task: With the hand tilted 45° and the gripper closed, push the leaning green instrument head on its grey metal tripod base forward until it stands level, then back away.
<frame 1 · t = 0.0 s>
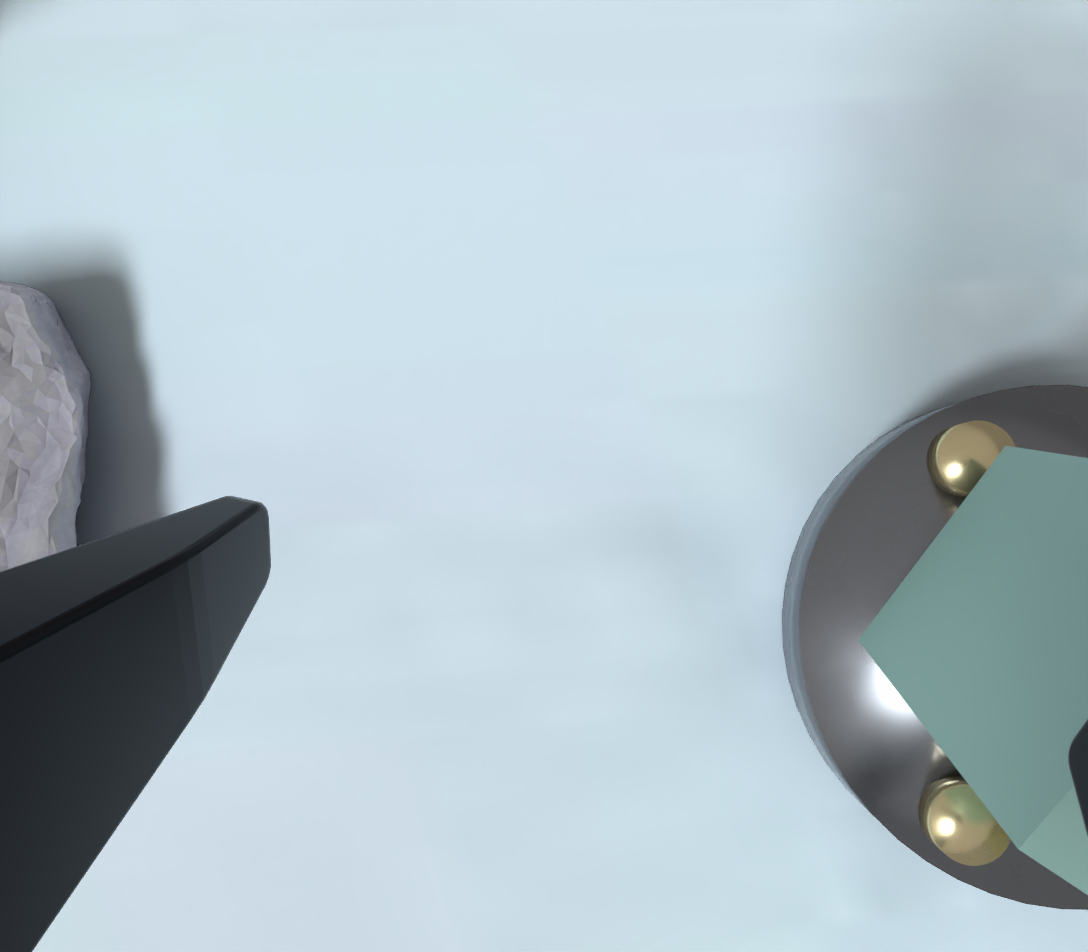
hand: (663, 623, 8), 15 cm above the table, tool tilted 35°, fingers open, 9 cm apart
tripod base: (1021, 630, 22), on the table
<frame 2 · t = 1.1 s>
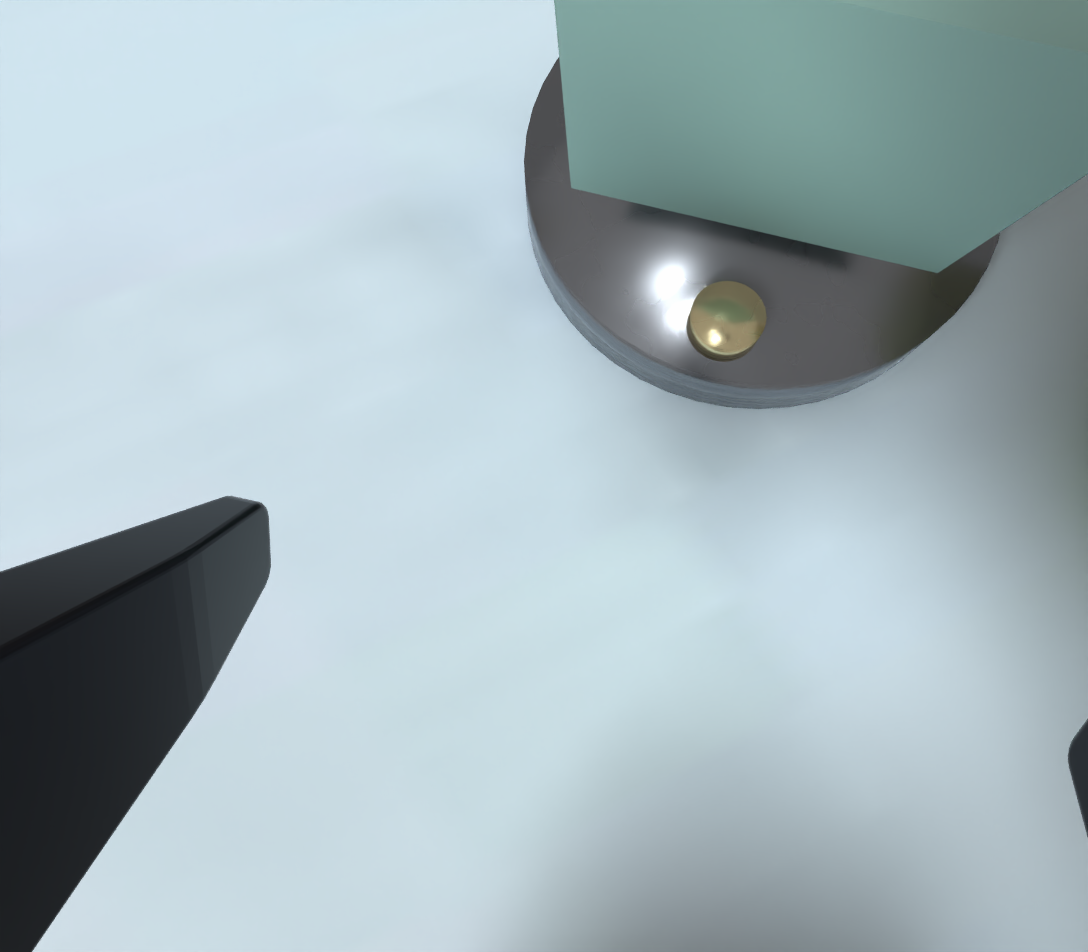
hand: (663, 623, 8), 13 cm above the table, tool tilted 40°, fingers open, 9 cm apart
tripod base: (745, 200, 24), on the table
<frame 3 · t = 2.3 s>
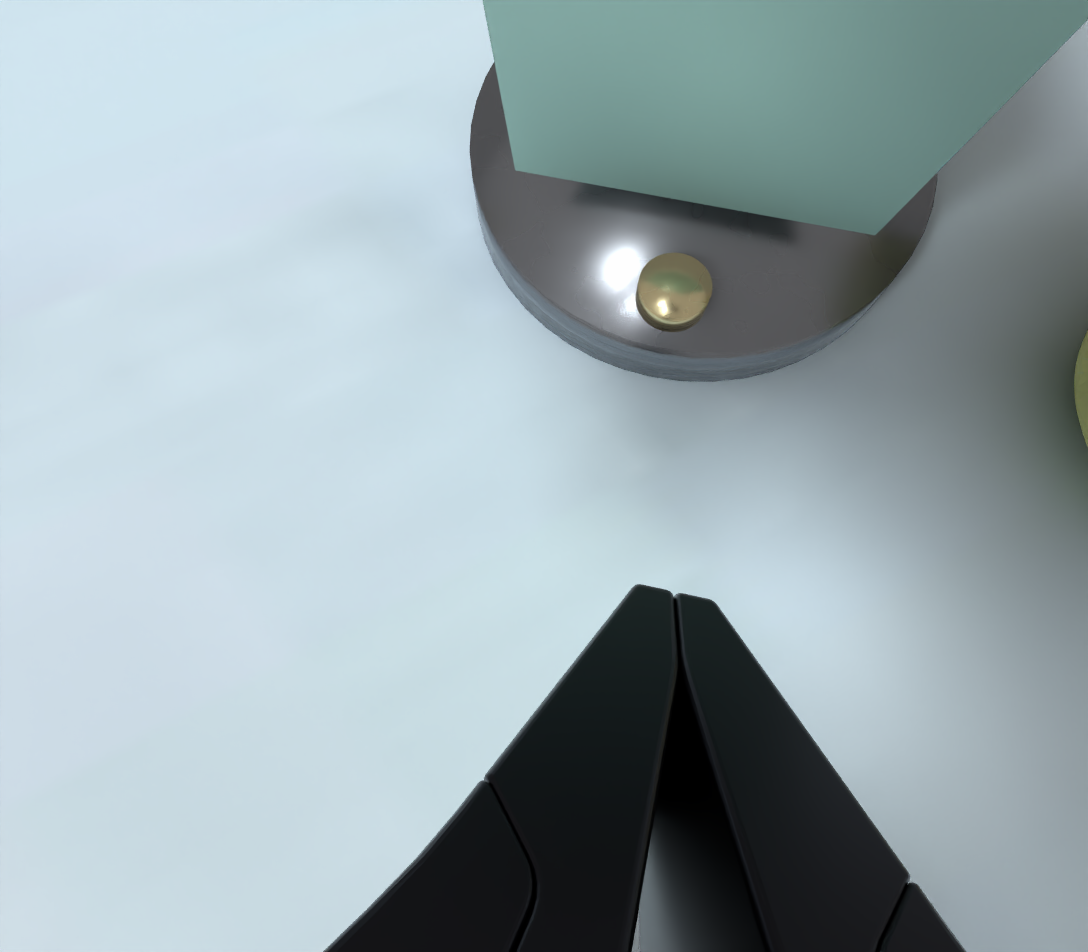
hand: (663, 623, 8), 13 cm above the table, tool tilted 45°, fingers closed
tripod base: (689, 183, 24), on the table
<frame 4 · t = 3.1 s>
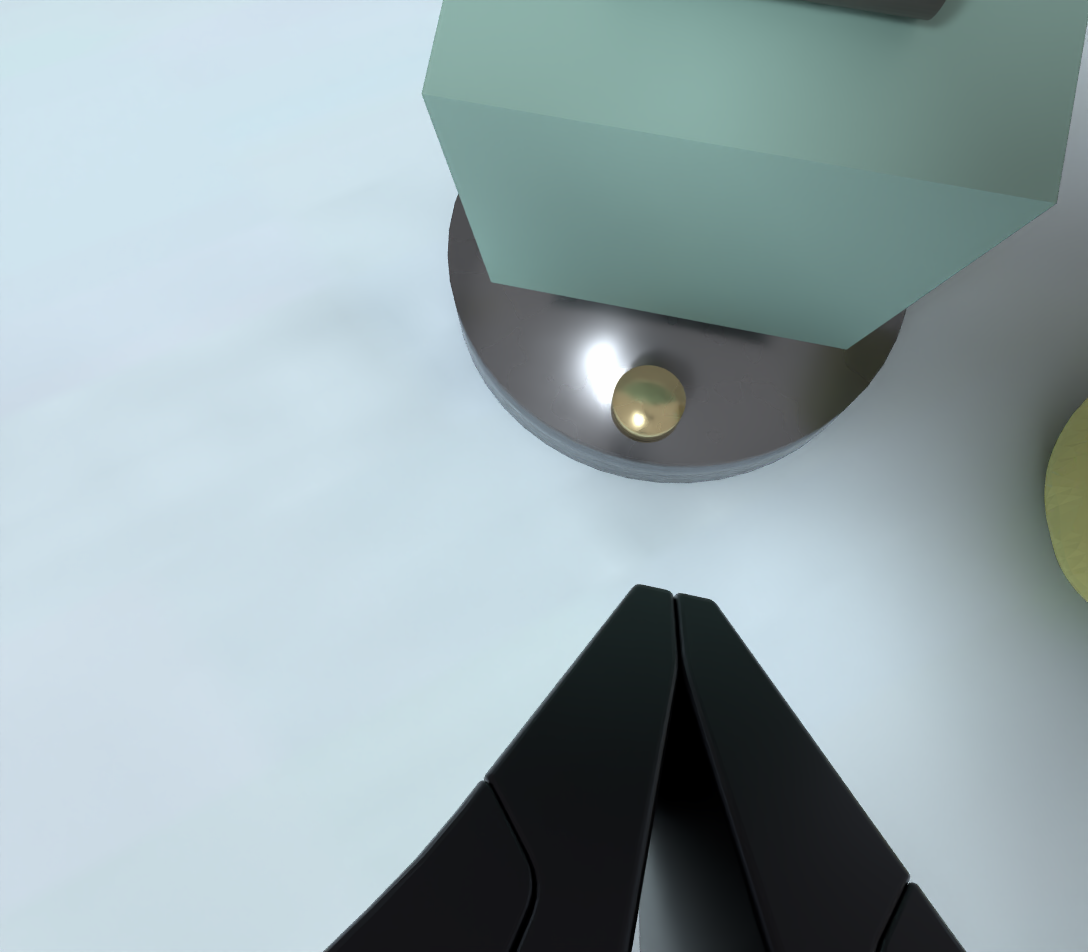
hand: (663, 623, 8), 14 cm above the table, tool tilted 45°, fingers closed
instrument head: (732, 55, 15), point 9 cm above the table, hinge at -12.0°
tripod base: (667, 279, 24), on the table
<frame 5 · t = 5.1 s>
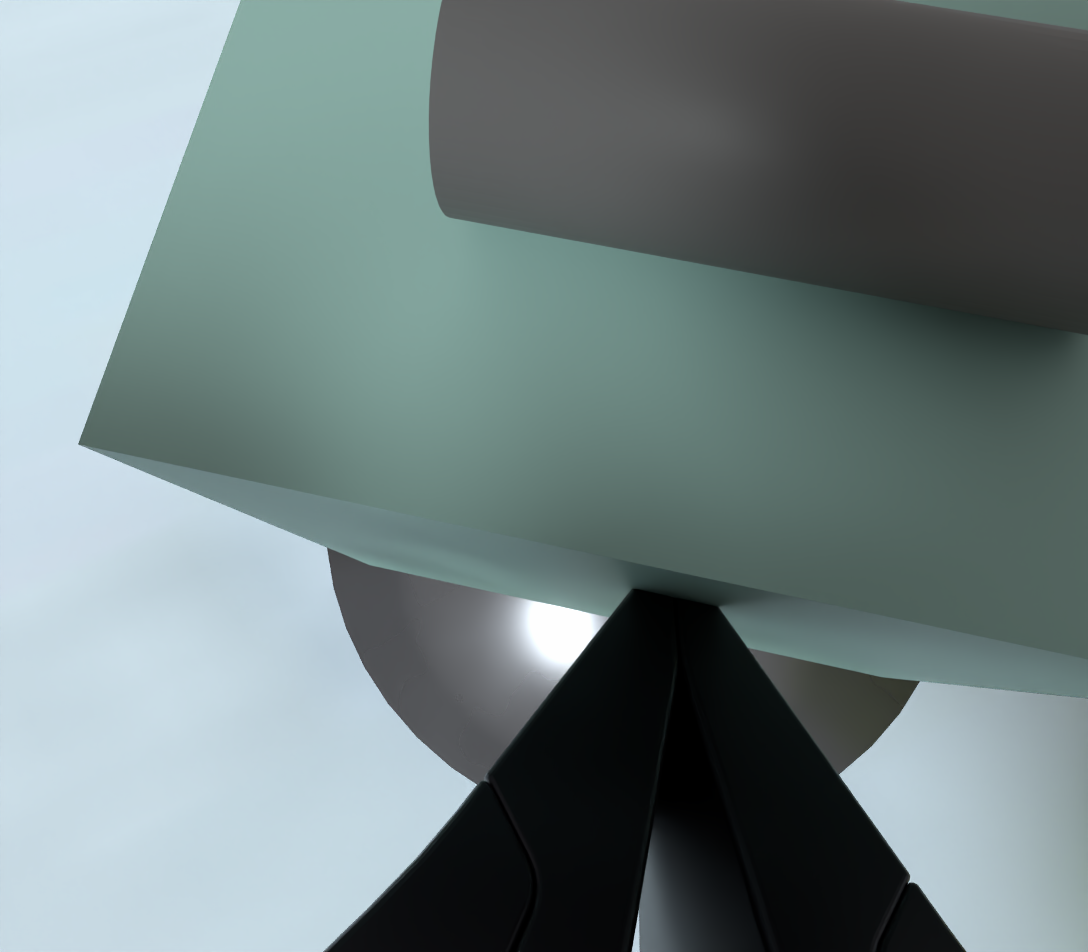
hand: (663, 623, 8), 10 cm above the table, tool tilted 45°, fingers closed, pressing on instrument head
instrument head: (709, 305, 10), point 9 cm above the table, hinge at -4.1°, touching gripper
tripod base: (629, 514, 18), on the table
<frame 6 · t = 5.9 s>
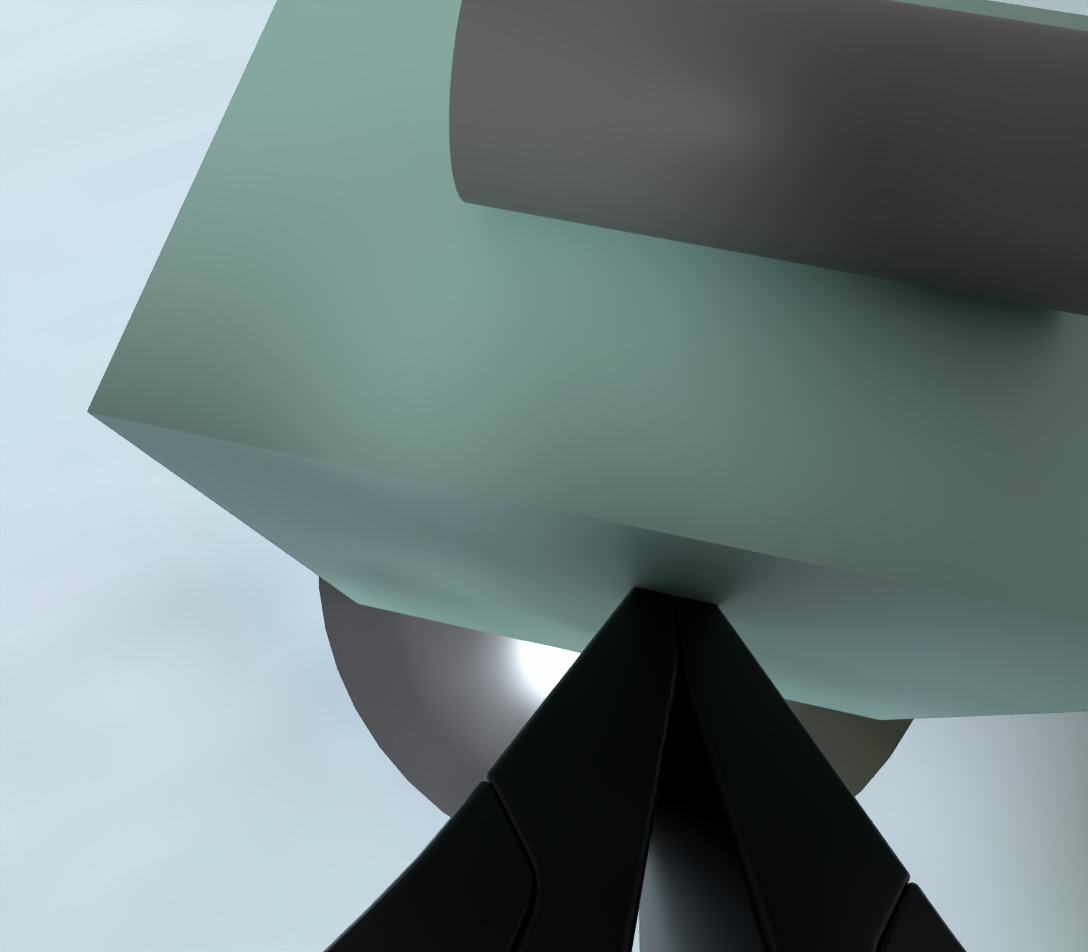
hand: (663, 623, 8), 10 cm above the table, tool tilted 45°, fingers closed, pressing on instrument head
instrument head: (701, 330, 10), point 9 cm above the table, hinge at 1.9°, touching gripper
tripod base: (621, 550, 19), on the table
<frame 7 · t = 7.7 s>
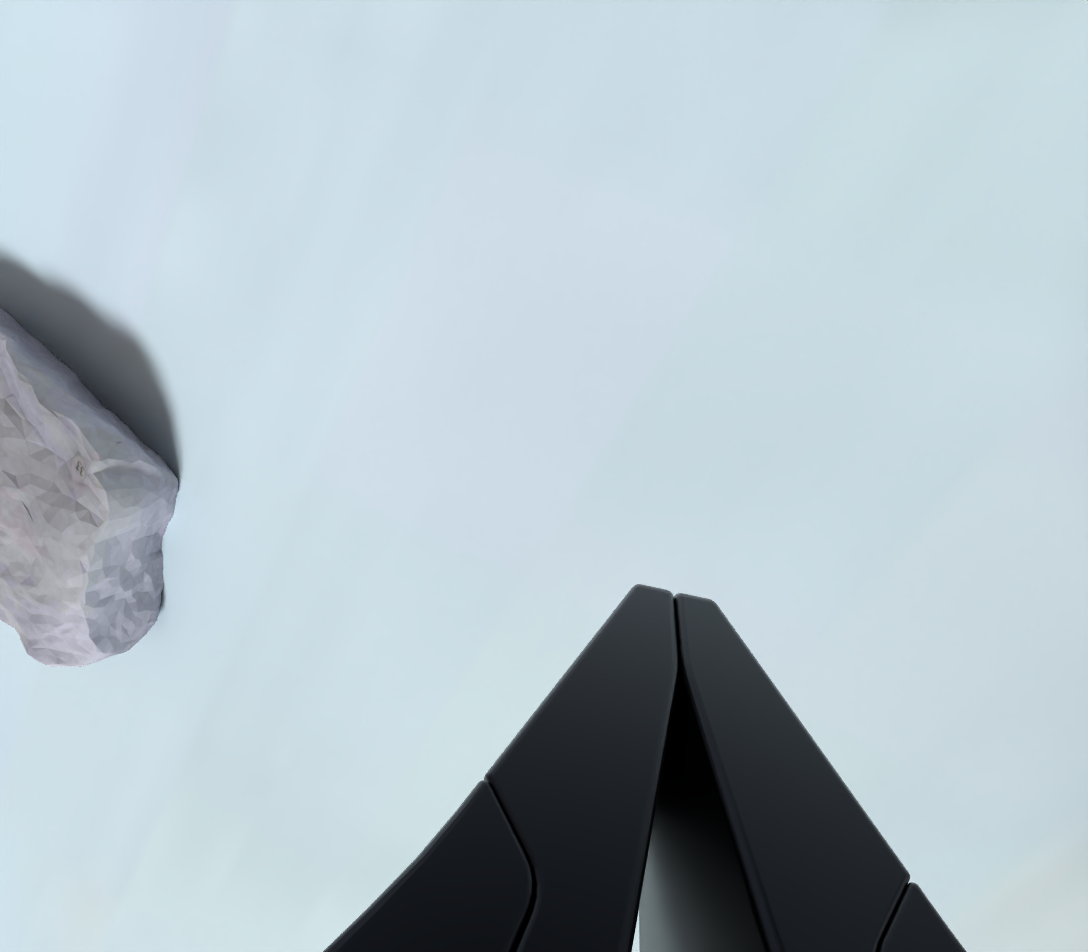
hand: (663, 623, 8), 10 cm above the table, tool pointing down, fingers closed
stone block: (60, 449, 26), on the table
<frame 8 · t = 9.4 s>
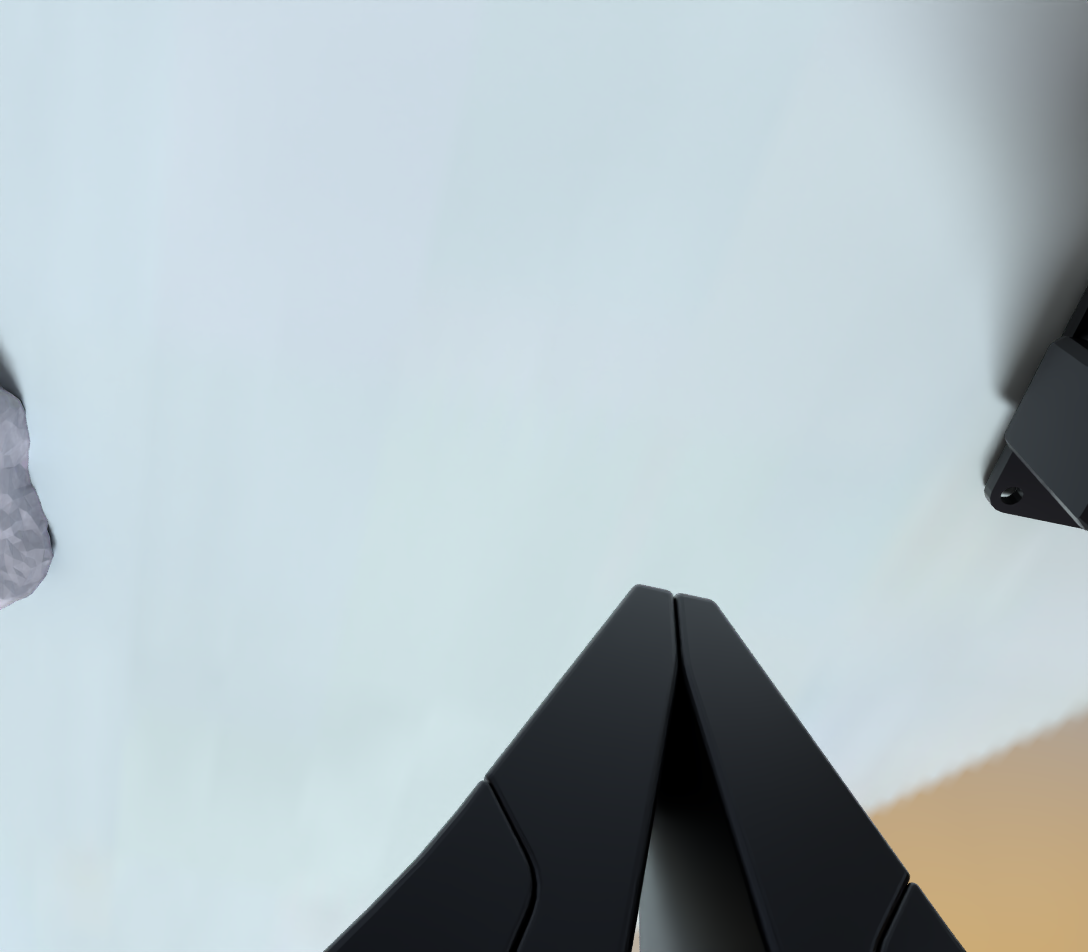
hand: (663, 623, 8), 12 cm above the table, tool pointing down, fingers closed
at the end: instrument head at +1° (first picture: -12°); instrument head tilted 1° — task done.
